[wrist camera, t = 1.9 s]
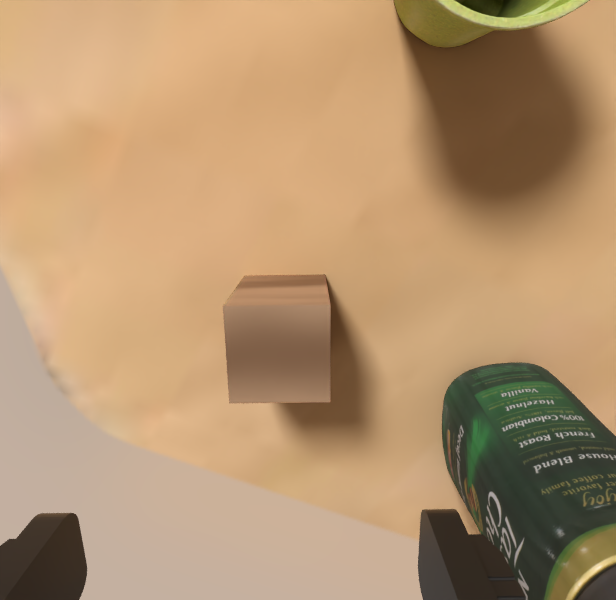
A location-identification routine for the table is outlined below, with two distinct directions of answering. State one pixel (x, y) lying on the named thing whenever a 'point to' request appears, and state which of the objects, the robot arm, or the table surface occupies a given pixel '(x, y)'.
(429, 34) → the plant pot
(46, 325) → the table surface
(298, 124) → the table surface
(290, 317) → the walnut block
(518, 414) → the coffee jar
